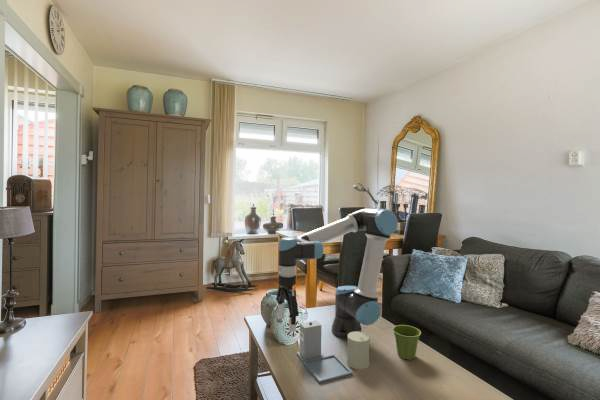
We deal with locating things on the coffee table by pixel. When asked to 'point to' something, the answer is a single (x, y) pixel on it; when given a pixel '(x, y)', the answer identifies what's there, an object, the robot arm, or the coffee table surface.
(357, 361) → the can
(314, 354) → the box
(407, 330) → the plant pot
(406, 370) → the coffee table surface
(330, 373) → the tray
